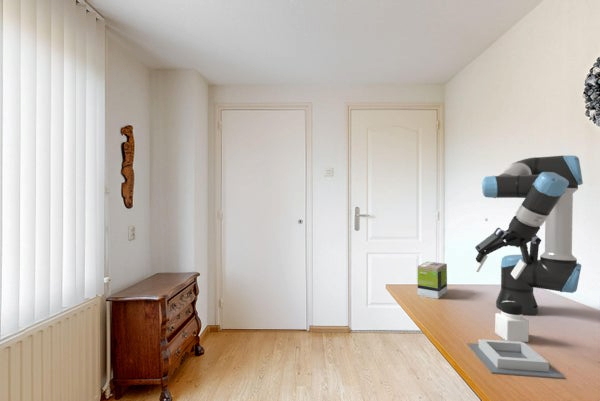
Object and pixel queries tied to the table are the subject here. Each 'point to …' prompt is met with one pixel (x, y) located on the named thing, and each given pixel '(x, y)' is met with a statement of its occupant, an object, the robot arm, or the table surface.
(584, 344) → the table surface
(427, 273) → the tea box
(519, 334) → the medicine bottle
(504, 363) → the collar plate
